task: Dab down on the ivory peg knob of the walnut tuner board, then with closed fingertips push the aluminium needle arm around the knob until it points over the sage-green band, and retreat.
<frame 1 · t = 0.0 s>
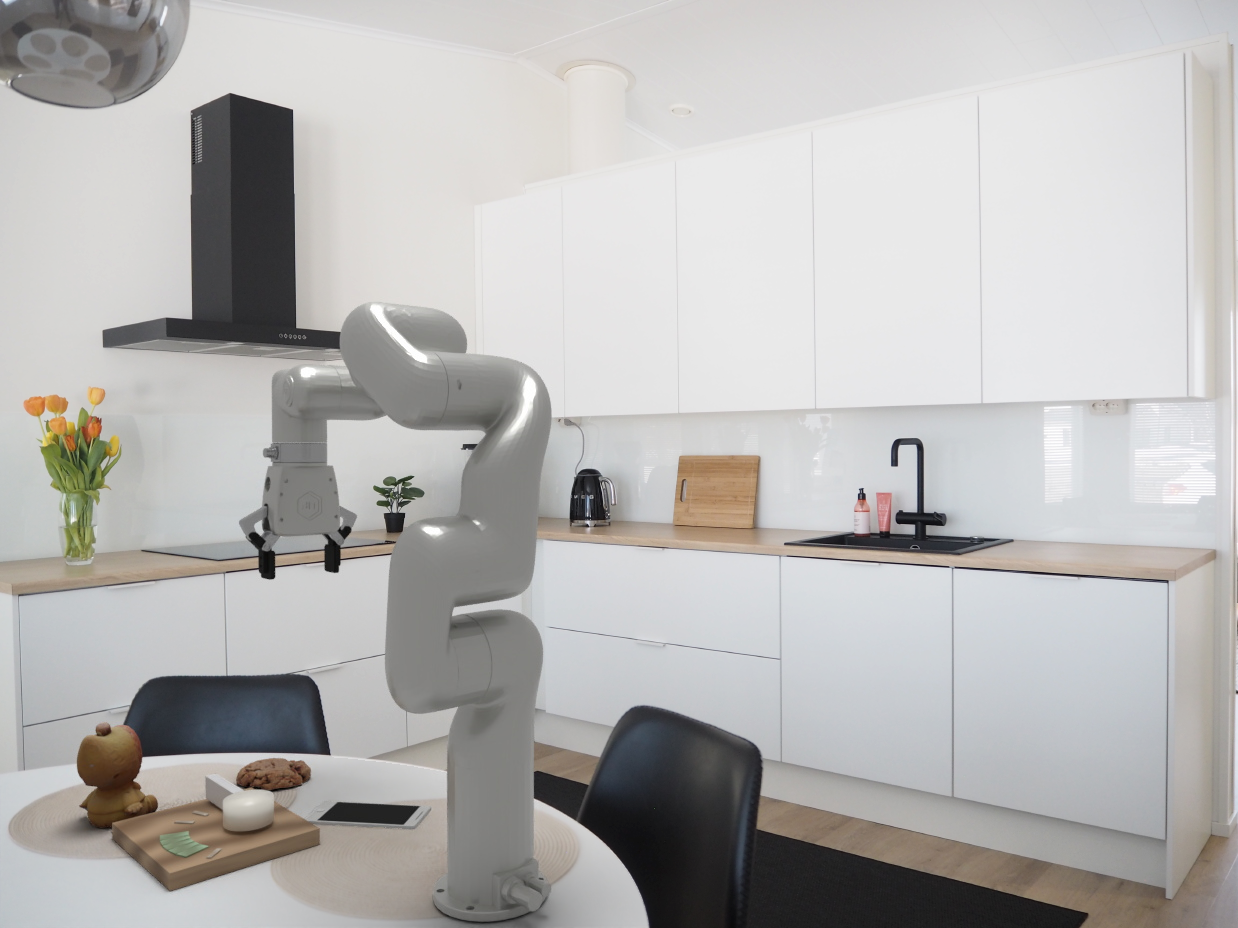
hand: (300, 575, 138), 31 cm above the table, fingers open, 9 cm apart
tuner board: (215, 841, 121), on the table
smartphone: (367, 820, 129), on the table
cookie: (273, 783, 143), on the table
peg dial: (233, 800, 124), point 4 cm above the table, hinge at 0.0°
figurine: (113, 822, 127), on the table
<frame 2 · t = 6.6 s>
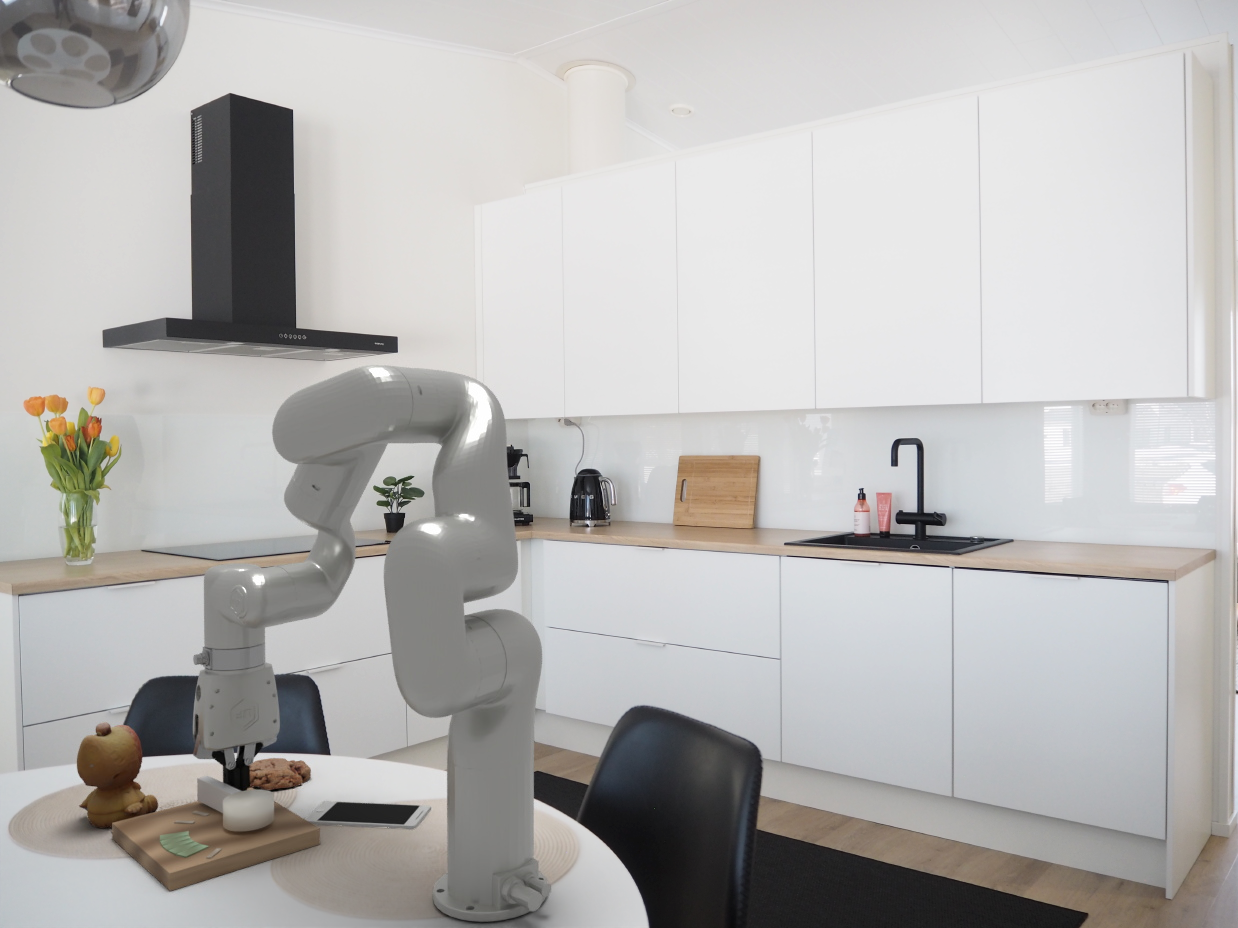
hand: (236, 794, 128), 3 cm above the table, fingers closed
peg dial: (230, 801, 124), point 4 cm above the table, hinge at 5.4°, touching gripper
everything else where it was.
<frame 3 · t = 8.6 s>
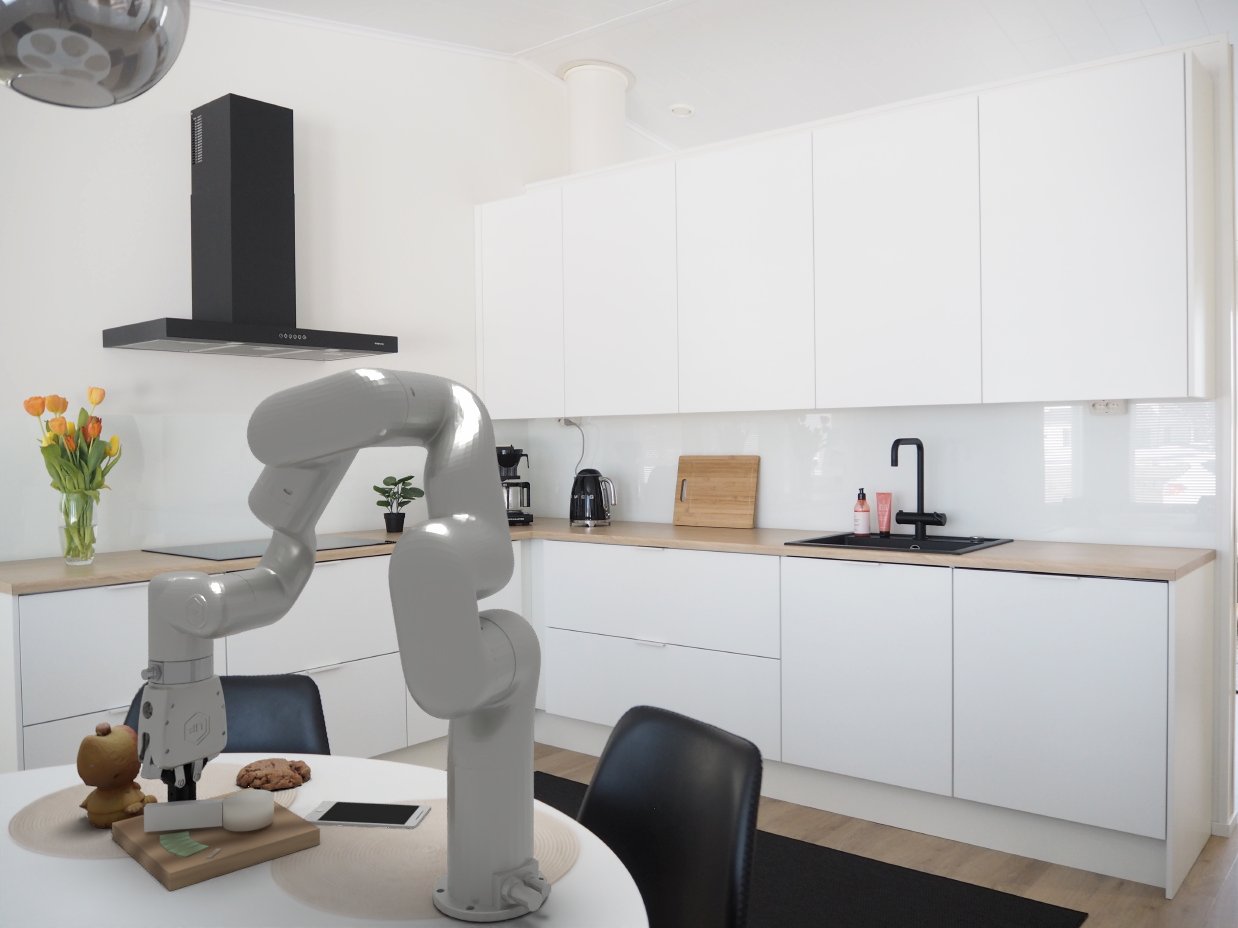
hand: (182, 813, 122), 3 cm above the table, fingers closed
peg dial: (210, 812, 120), point 4 cm above the table, hinge at 57.6°, touching gripper
everything else where it was.
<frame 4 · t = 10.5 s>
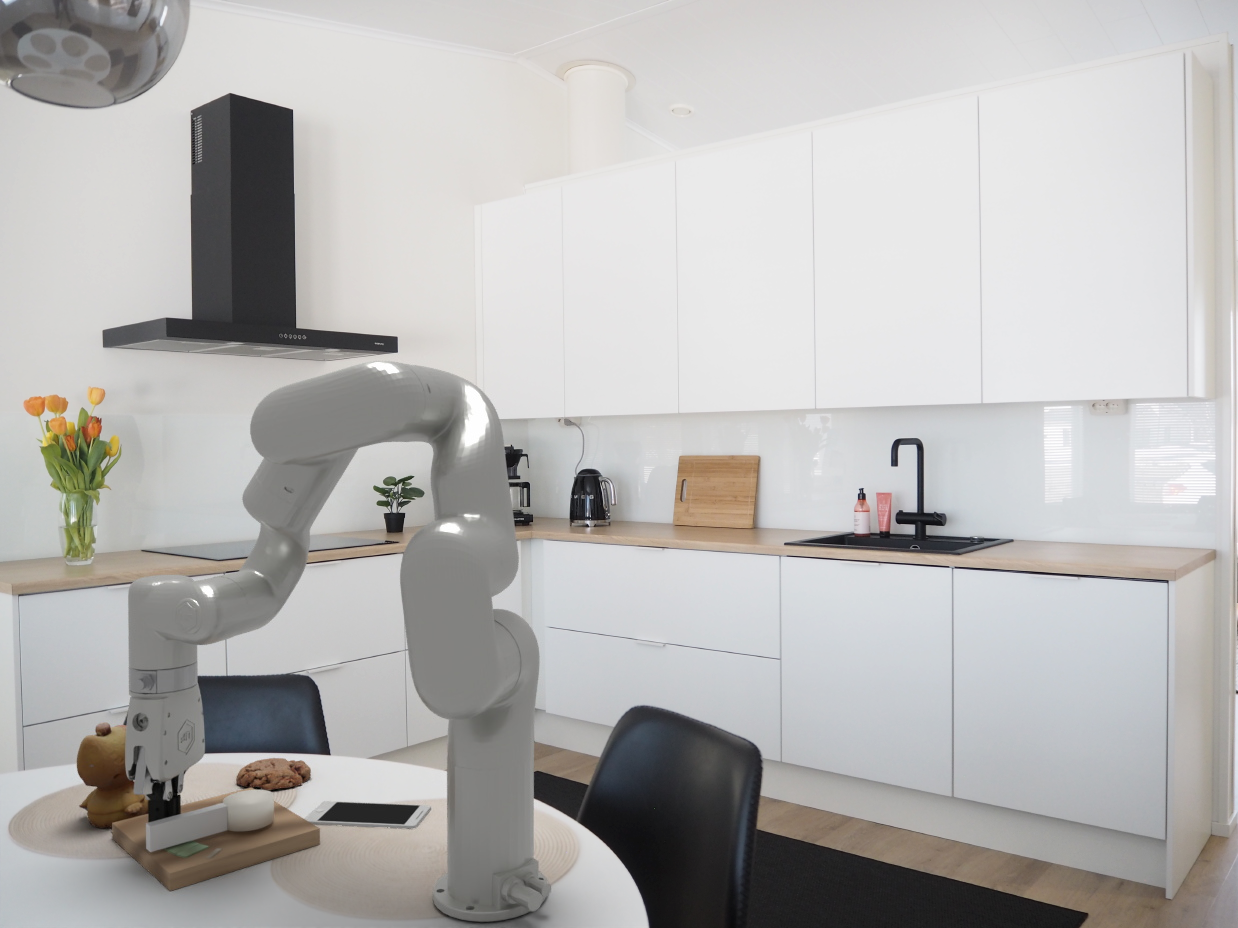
hand: (164, 828, 116), 3 cm above the table, fingers closed
peg dial: (212, 819, 118), point 4 cm above the table, hinge at 90.5°
everything else where it was.
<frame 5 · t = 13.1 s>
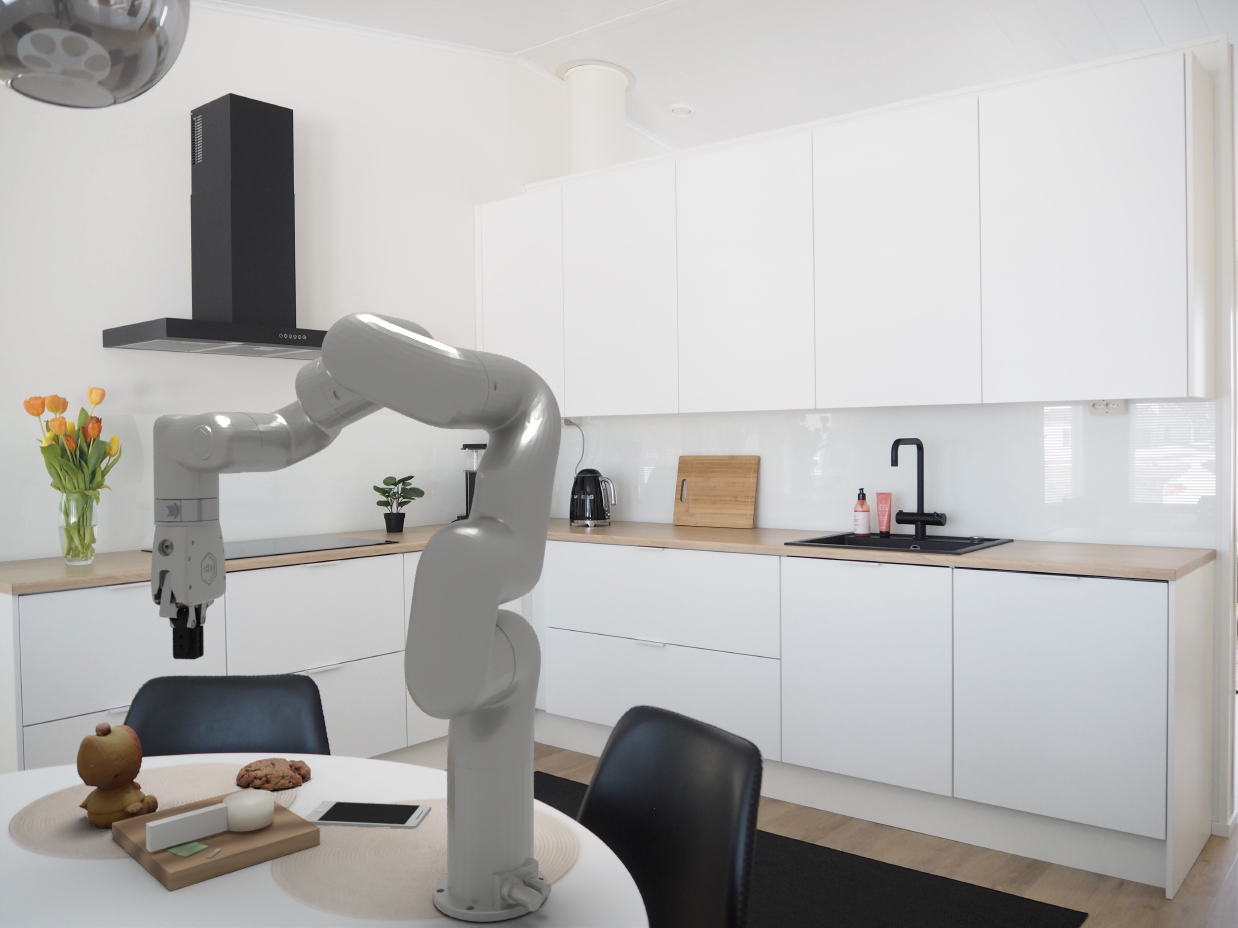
hand: (188, 657, 121), 23 cm above the table, fingers closed
nothing on the table moved.
at the end: peg dial at +91° (first picture: +0°) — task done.
